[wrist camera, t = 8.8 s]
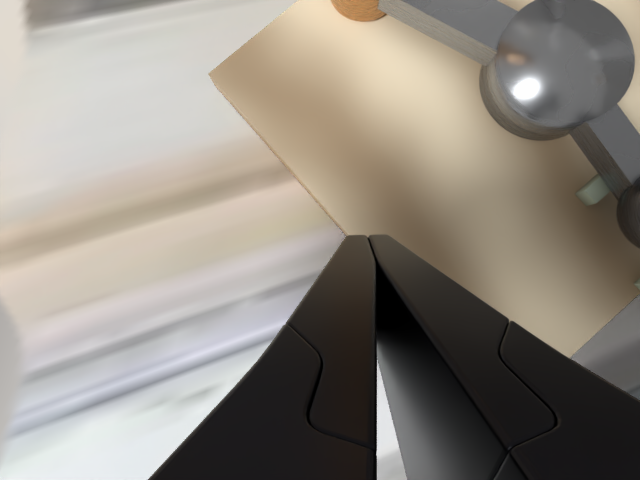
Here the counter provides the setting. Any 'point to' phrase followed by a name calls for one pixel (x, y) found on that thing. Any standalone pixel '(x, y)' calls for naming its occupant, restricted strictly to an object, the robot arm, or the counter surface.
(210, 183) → the counter surface
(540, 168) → the wooden cutting board
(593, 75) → the capstan
